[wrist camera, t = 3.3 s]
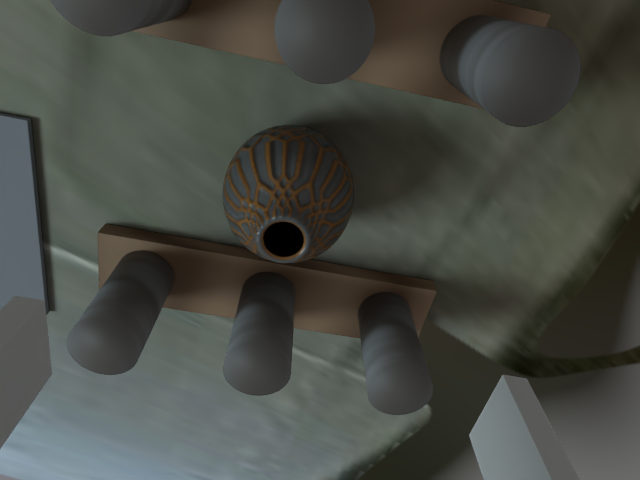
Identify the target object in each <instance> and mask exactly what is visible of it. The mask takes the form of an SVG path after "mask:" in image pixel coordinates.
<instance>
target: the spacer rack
mask: <svg viewBox="0 0 640 480" xmlns="http://www.w3.org/2000/svg"><path fill="white" fill-rule="evenodd" d="M51 2H52V4H53V5H54V6H55V8H56V9H57V10H58V11H59V13H60V14H61V15H62V16H63V17H64V18H65V19H67V20H68V21H69V22H70V23H71V24H73V25H74V26H76V27H77V28H79V29H81V30H83V31H85V32H88V33H91V34H94V35H99V36H114V35H118V34H122V33H126V32H129V31H135V32H139V33H144V34H148V35H153V36H157V37H162V38H166V39H171V40H175V41H180V42H184V43H189V44H193V45H198V46H202V47H207V48H212V49H216V50H221V51H225V52H230V53H234V54H239V55H243V56H248V57H252V58H257V59H261V60H266V61H270V62H275V63H279V64H284V65H287V66H288V67H289V68H290V69H291V70H292V71H293V72H294V73H295V74H297V75H298V76H300V77H301V78H303V79H305V80H307V81H310V82H314V83H319V84H330V83H335V82H339V81H342V80H344V79H346V78H347V79H352V80H356V81H361V82H365V83H370V84H374V85H379V86H383V87H388V88H392V89H397V90H401V91H406V92H410V93H415V94H419V95H424V96H428V97H433V98H437V99H442V100H446V101H451V102H455V103H460V104H464V105H469V106H473V107H478V108H482V109H484V110H486V111H487V112H489V113H490V114H491V115H493V116H494V117H495V118H497V119H498V120H499V121H501V122H503V123H505V124H507V125H510V126H516V127H527V126H532V125H536V124H539V123H542V122H544V121H546V120H548V119H549V118H551V117H552V116H554V115H555V114H556V113H558V112H559V111H560V110H561V109H562V108H563V107H564V106H565V105H566V103H567V102H568V101H569V99H570V98H571V96H572V95H573V93H574V91H575V89H576V86H577V84H578V81H579V77H580V70H581V63H580V56H579V52H578V50H577V48H576V46H575V44H574V42H573V41H572V40H571V39H570V38H569V37H568V36H567V35H566V34H564V33H562V32H561V31H559V30H556V29H552V28H547V27H546V26H547V23H548V21H549V18H550V16H551V14H547V13H543V12H539V11H535V10H531V9H527V8H523V7H519V6H515V5H511V4H507V3H503V2H499V1H495V0H51ZM98 265H99V292H98V293H97V295H96V296H95V297H94V299H93V300H92V302H91V303H90V305H89V306H88V307H87V309H86V310H85V312H84V313H83V315H82V316H81V318H80V319H79V320H78V322H77V323H76V325H75V326H74V328H73V329H72V330H71V332H70V333H69V335H68V337H67V348H68V351H69V353H70V355H71V356H72V358H73V359H74V360H75V361H76V362H77V363H78V364H80V365H81V366H82V367H84V368H86V369H88V370H90V371H92V372H95V373H99V374H105V375H116V374H121V373H124V372H126V371H128V370H130V369H131V368H133V367H134V365H135V364H136V362H137V361H138V358H139V356H140V354H141V352H142V350H143V348H144V346H145V343H146V341H147V339H148V337H149V335H150V333H151V331H152V328H153V326H154V324H155V322H156V320H157V318H158V316H159V313H160V311H161V309H162V307H164V308H171V309H177V310H183V311H190V312H196V313H202V314H209V315H215V316H221V317H228V318H234V319H235V320H234V324H233V328H232V333H231V337H230V341H229V345H228V350H227V354H226V358H225V362H224V367H223V372H224V376H225V378H226V380H227V382H228V383H229V384H230V385H231V386H232V387H233V388H235V389H236V390H238V391H240V392H243V393H245V394H249V395H257V396H261V395H268V394H272V393H275V392H277V391H279V390H281V389H282V388H283V387H284V386H285V385H286V384H287V383H288V381H289V379H290V375H291V361H292V345H293V328H298V329H304V330H310V331H317V332H323V333H330V334H336V335H342V336H349V337H355V338H361V345H362V353H363V360H364V368H365V376H366V383H367V391H368V398H369V401H370V403H371V404H372V405H373V406H374V407H375V408H376V409H377V410H379V411H381V412H383V413H387V414H392V415H403V414H408V413H412V412H415V411H417V410H419V409H420V408H422V407H423V406H425V405H426V404H427V403H428V402H429V400H430V399H431V397H432V394H433V385H432V382H431V379H430V375H429V372H428V368H427V365H426V361H425V358H424V355H423V351H422V348H421V344H420V341H419V338H418V337H419V334H420V332H421V329H422V327H423V324H424V322H425V320H426V317H427V315H428V312H429V310H430V308H431V305H432V303H433V300H434V298H435V295H436V293H437V289H436V287H435V284H434V282H433V281H430V280H424V279H419V278H413V277H407V276H401V275H396V274H390V273H384V272H378V271H373V270H367V269H361V268H356V267H350V266H344V265H338V264H333V263H327V262H321V261H315V260H310V259H309V260H306V261H302V262H297V263H277V262H274V261H270V260H267V259H264V258H262V257H260V256H258V255H256V254H254V253H253V252H251V251H250V250H249V249H247V248H241V247H235V246H230V245H224V244H218V243H212V242H207V241H201V240H195V239H190V238H184V237H178V236H172V235H167V234H161V233H155V232H150V231H144V230H138V229H132V228H127V227H121V226H115V225H109V224H105V225H104V226H103V227H102V228H101V229H100V231H99V232H98Z"/></svg>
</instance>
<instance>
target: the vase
mask: <svg viewBox="0 0 640 480" xmlns="http://www.w3.org/2000/svg"><path fill="white" fill-rule="evenodd" d="M353 202H354V187H353V180H352V176H351V172H350V169H349V167H348V164H347V162H346V160H345V158H344V156H343V155H342V153H341V152H340V151H339V149H338V148H337V147H336V146H335V145H334V144H333V143H332V142H331V141H330V140H329V139H327V138H326V137H325V136H323V135H322V134H320V133H318V132H316V131H314V130H312V129H309V128H306V127H302V126H295V125H282V126H276V127H272V128H268V129H266V130H263V131H261V132H259V133H257V134H256V135H254V136H252V137H251V138H250V139H248V140H247V141H246V142H245V143H244V144H243V145H242V146H241V147H240V149H239V150H238V151H237V152H236V154H235V155H234V157H233V159H232V160H231V162H230V164H229V166H228V169H227V172H226V175H225V178H224V183H223V205H224V210H225V214H226V217H227V220H228V223H229V225H230V227H231V229H232V231H233V233H234V234H235V236H236V237H237V238H238V240H239V241H240V242H241V243H242V244H243V245H244V246H245V247H246V248H247V249H249V250H250V251H251V252H253V253H254V254H256V255H258V256H260V257H262V258H264V259H267V260H270V261H274V262H277V263H297V262H302V261H306V260H309V259H312V258H314V257H317V256H318V255H320V254H322V253H323V252H325V251H326V250H327V249H329V248H330V247H331V246H332V245H333V244H334V243H335V242H336V241H337V240H338V238H339V237H340V236H341V234H342V233H343V231H344V229H345V227H346V226H347V224H348V221H349V219H350V216H351V213H352V208H353Z"/></svg>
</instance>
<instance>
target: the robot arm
mask: <svg viewBox="0 0 640 480" xmlns="http://www.w3.org/2000/svg"><path fill="white" fill-rule="evenodd" d="M51 374H52V370H51V360H50V349H49V339H48V329H47V318H46V308H45V300H39V299H33V298H26V297H20V296H14V297H13V298H12V299H11V300H10V301H9V302H8V303H7V304H6V305H5V306H4V307H3V308H2V309H1V310H0V449H1V447H2V446H3V444H4V443H5V441H6V440H7V438H8V437H9V435H10V434H11V433H12V431H13V430H14V428H15V427H16V425H17V424H18V422H19V421H20V420H21V418H22V417H23V415H24V414H25V412H26V411H27V409H28V408H29V406H30V405H31V404H32V402H33V401H34V399H35V398H36V396H37V395H38V393H39V392H40V390H41V389H42V388H43V386H44V385H45V383H46V382H47V380H48V379H49V377H50V376H51ZM469 436H470V439H471V442H472V445H473V449H474V452H475V455H476V457H477V460H478V464H479V467H480V470H481V473H482V476H483V479H484V480H579V478H578V476H577V474H576V472H575V470H574V468H573V466H572V464H571V462H570V460H569V459H568V457H567V455H566V453H565V451H564V449H563V447H562V445H561V443H560V441H559V440H558V438H557V436H556V434H555V432H554V430H553V428H552V426H551V424H550V422H549V420H548V418H547V417H546V415H545V413H544V411H543V409H542V407H541V405H540V403H539V401H538V399H537V397H536V396H535V394H534V392H533V390H532V388H531V386H530V384H529V382H528V380H527V379H526V378H520V377H514V376H507V375H502V377H501V379H500V380H499V382H498V384H497V386H496V388H495V389H494V391H493V393H492V395H491V397H490V399H489V400H488V402H487V404H486V406H485V407H484V409H483V411H482V413H481V415H480V416H479V418H478V420H477V422H476V424H475V426H474V427H473V429H472V431H471V433H470V434H469Z"/></svg>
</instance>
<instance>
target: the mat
mask: <svg viewBox="0 0 640 480" xmlns="http://www.w3.org/2000/svg"><path fill="white" fill-rule="evenodd" d="M14 296H20V297H26V298H33V299H39V300H45V308H46V315H47V314H48V312H49V305H48V295H47V284H46V273H45V263H44V252H43V241H42V231H41V220H40V209H39V198H38V188H37V177H36V166H35V156H34V145H33V134H32V124H31V119H30V118H25V117H20V116H14V115H9V114H4V113H0V308H3V307H4V306H5V305H6V304H7V303H8V302H9V301H10V300H11V299H12V298H13V297H14Z"/></svg>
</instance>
